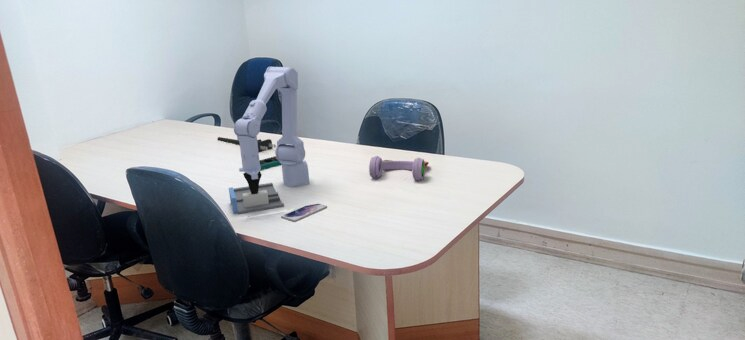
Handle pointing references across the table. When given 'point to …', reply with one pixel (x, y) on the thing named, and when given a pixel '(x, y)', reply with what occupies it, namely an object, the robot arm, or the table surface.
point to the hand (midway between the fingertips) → (254, 193)
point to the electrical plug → (261, 144)
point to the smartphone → (303, 212)
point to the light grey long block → (258, 199)
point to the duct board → (239, 208)
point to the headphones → (397, 167)
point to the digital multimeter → (269, 163)
